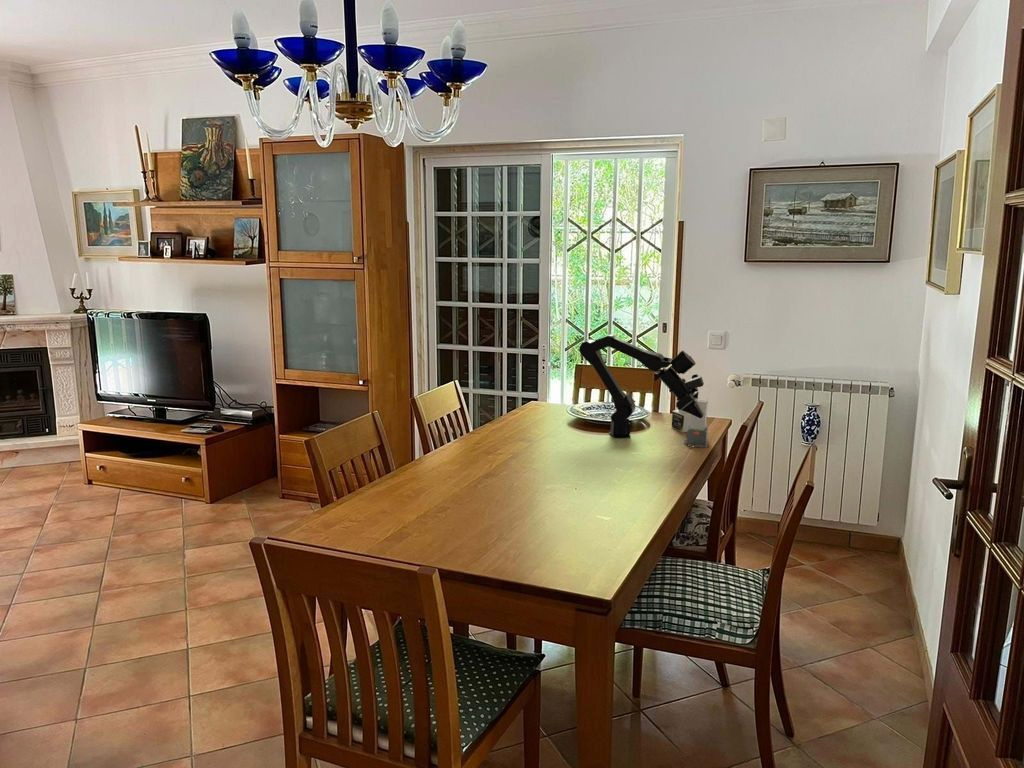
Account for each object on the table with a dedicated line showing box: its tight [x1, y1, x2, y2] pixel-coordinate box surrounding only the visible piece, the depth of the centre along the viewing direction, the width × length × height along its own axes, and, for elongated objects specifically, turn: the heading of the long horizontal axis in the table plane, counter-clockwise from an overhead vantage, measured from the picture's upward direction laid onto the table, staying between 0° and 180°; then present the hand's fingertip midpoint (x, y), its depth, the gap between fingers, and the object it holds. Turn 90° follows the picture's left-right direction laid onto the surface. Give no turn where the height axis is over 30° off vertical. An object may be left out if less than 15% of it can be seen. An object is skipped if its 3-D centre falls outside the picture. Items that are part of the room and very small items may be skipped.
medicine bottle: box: [671, 408, 691, 433], centre depth 286 cm, size 7×7×12 cm
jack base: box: [683, 426, 711, 448], centre depth 268 cm, size 9×9×6 cm
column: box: [690, 397, 709, 432], centre depth 266 cm, size 5×5×12 cm
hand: (702, 415), depth 265 cm, fingers open, 7 cm apart
